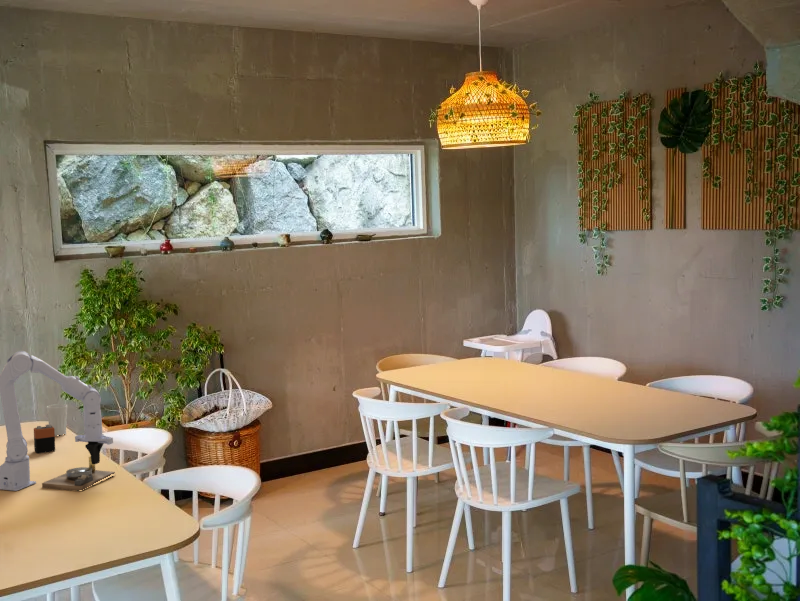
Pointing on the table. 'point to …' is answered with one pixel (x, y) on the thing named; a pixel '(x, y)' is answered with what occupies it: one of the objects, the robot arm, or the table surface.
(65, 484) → the board
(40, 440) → the battery
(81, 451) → the table surface
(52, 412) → the cup
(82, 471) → the cam
